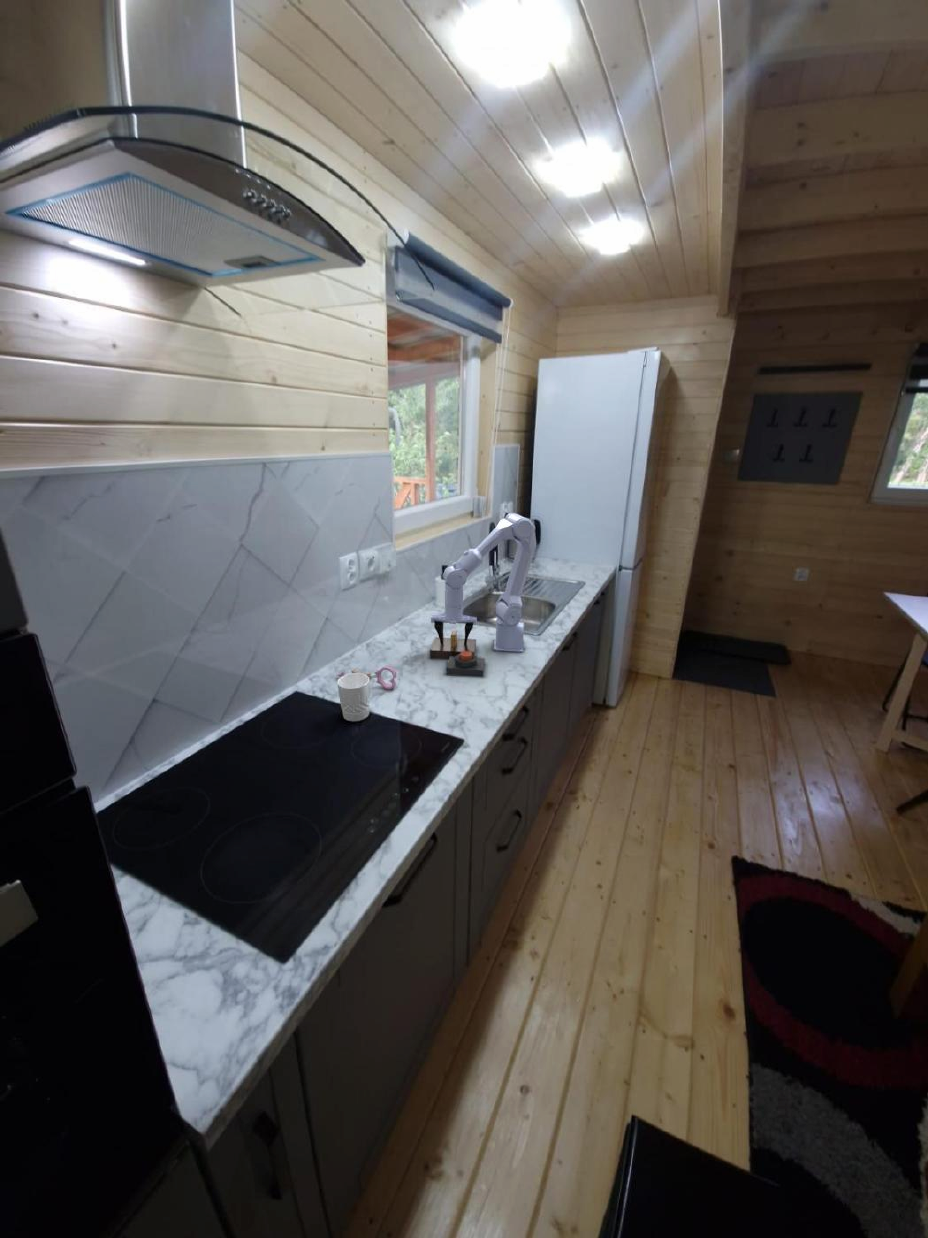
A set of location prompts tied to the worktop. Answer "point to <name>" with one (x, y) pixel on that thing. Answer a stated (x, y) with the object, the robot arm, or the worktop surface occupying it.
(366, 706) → the white cup
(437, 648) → the plate
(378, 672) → the decorative key
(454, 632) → the lock knob
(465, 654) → the bell button
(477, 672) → the doorbell
